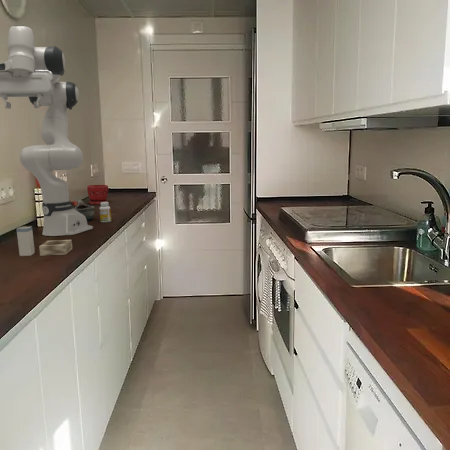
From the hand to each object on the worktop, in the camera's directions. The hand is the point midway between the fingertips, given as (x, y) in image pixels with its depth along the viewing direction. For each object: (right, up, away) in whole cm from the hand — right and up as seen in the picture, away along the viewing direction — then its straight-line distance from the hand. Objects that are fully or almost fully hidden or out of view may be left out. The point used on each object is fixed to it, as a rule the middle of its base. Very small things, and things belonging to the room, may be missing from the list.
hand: (22, 107), depth 156 cm
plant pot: (-12, -27, +139) cm, 142 cm away
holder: (+8, -51, +11) cm, 52 cm away
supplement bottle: (+10, -39, +72) cm, 83 cm away
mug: (-3, -38, +78) cm, 87 cm away
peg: (-2, -51, +9) cm, 52 cm away
